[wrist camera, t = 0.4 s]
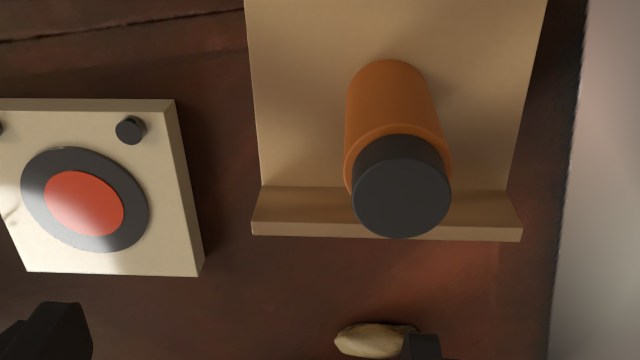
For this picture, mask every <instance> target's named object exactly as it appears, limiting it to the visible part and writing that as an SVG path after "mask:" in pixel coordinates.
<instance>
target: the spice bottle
mask: <svg viewBox="0 0 640 360" xmlns="http://www.w3.org/2000/svg"><path fill="white" fill-rule="evenodd" d="M452 173H453V162H452V157H451V153H450V151H449V148H448V145H447V142H446V139H445V136H444V133H443V130H442V127H441V124H440V121H439V119H438V116H437V113H436V110H435V107H434V104H433V101H432V98H431V95H430V92H429V89H428V87H427V84H426V81H425V79H424V78H423V76H422V75H421V73H420V72H419V71H418V70H417V69H416V68H414V67H413V66H411V65H410V64H408V63H406V62H403V61H399V60H393V59H386V60H379V61H376V62H373V63H371V64H368V65H367V66H365V67H364V68H362V69H361V70H360V71H359V72H358V73H357V74H356V75H355V76H354V78H353V79H352V81H351V82H350V84H349V87H348V90H347V96H346V114H345V134H344V154H343V179H344V183H345V186H346V189H347V190H348V192H349V194H350V195H351V204H352V208H353V211H354V214H355V216H356V217H357V219H358V220H359V221H360V223H361V224H362V225H363V226H364V227H365V228H367V229H368V230H369V231H371V232H373V233H375V234H377V235H379V236H382V237H386V238H391V239H407V238H413V237H417V236H420V235H422V234H425V233H427V232H429V231H430V230H432V229H433V228H435V227H436V226H437V225H438V224H439V223H440V222H441V221H442V220H443V219H444V217H445V216H446V214H447V212H448V210H449V208H450V204H451V199H452V192H451V187H450V181H451V178H452Z"/></svg>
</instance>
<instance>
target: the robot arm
mask: <svg viewBox="0 0 640 360" xmlns="http://www.w3.org/2000/svg"><path fill="white" fill-rule="evenodd" d="M92 353H93V341H92V338H91V335H90V332H89V328H88V325H87V322H86V319H85V316H84V312H83V309H82V307H81V305H80V303H78V302H70V301H59V300H44V301H43V302H41V303H40V304H39V306H38V307H37V308H36V309H35V311H34V312H33V313H32V315H31V316H30V317H29V319H28V320H27V321H24V320H18V321H17V322H16V323H14V324H13V325H12V326H10V327H9V328H8V329H6V330H5V331H4V332H2V333H1V334H0V360H91V358H92ZM399 360H458V359H446V358H442V353H441V347H440V342H439V338H438V335H437V334H430V333H419V332H407V331H406V332H405V335H404V339H403V344H402V349H401V353H400V358H399Z"/></svg>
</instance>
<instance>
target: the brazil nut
mask: <svg viewBox="0 0 640 360" xmlns="http://www.w3.org/2000/svg"><path fill="white" fill-rule="evenodd" d="M406 331H407V332H418V331H417V330H416V329H415V328H414V326H413V325H403V324H402V325H394V326H392V325H390V324H384V325H381V324H380V323H375V325H374V324H373V323H370V324H368V323H365V322H362V323H356V324H353V325H349V326H346V328H344V329H343V330H341V331H340V332H339V333H338V335H337V337H336V338H335V340H334V342H335V344H336V346H337V347H338V349H339V350H340V351H341V352H342V353H344V354H347V355H354V356H358V357H365V358H373V359H385V358H391V357H394V356H397V355H399V354H400V353H401V349H402V344H403V339H404V335H405V332H406Z"/></svg>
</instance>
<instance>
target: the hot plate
mask: <svg viewBox="0 0 640 360" xmlns="http://www.w3.org/2000/svg"><path fill="white" fill-rule="evenodd" d="M0 213H1V216H2V218H3V220H4V222H5V224H6V226H7V229H8V231H9V233H10V235H11V237H12V239H13V242H14V244H15V246H16V248H17V250H18V252H19V254H20V257H21V259H22V261H23V263H24V265H25V267H26V270H27V271H30V272H60V273H91V274H122V275H152V276H183V277H198V276H199V273H200V271H201V268H202V266H203V263H204V261H205V255H204V250H203V245H202V240H201V234H200V229H199V224H198V219H197V214H196V209H195V204H194V198H193V193H192V188H191V183H190V178H189V173H188V167H187V162H186V157H185V152H184V147H183V142H182V137H181V131H180V126H179V121H178V116H177V111H176V106H175V100H174V99H53V98H0Z"/></svg>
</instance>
